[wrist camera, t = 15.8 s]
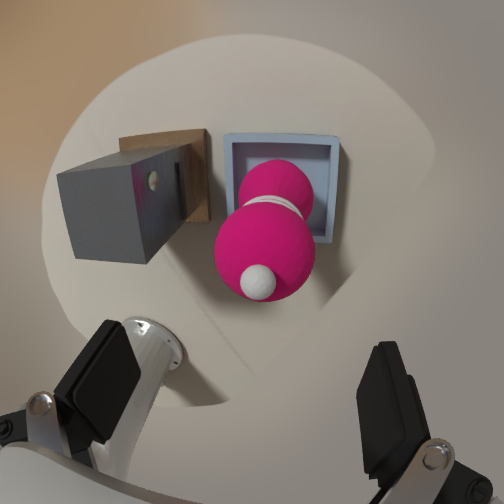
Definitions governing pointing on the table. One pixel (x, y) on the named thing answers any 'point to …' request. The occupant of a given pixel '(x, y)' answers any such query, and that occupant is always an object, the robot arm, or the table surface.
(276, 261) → the pepper mill
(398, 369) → the robot arm
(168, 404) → the table surface
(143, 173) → the control unit
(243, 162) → the parts tray
